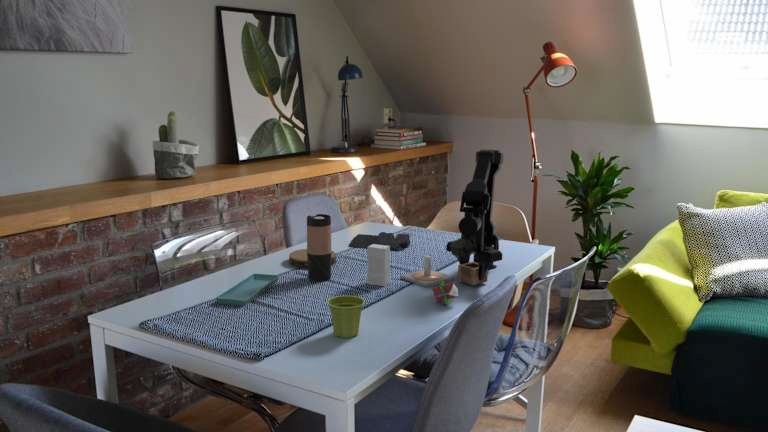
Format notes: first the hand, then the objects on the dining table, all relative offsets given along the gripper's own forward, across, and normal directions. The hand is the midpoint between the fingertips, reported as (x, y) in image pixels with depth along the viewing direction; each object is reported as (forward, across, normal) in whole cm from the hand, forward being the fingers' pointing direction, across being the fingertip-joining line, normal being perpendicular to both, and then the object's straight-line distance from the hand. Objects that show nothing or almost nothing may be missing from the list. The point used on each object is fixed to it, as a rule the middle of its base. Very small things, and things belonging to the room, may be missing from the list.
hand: (472, 277), depth 223 cm
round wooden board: (+2, -51, -25) cm, 57 cm away
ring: (+1, 0, 0) cm, 1 cm away
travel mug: (+2, -34, -34) cm, 48 cm away
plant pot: (+2, +9, -56) cm, 57 cm away
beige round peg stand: (+2, -12, -8) cm, 15 cm away
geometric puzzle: (+2, +8, -20) cm, 22 cm away
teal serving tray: (+2, -36, -58) cm, 68 cm away
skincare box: (+2, -18, -23) cm, 29 cm away
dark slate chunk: (+3, -55, +8) cm, 55 cm away
